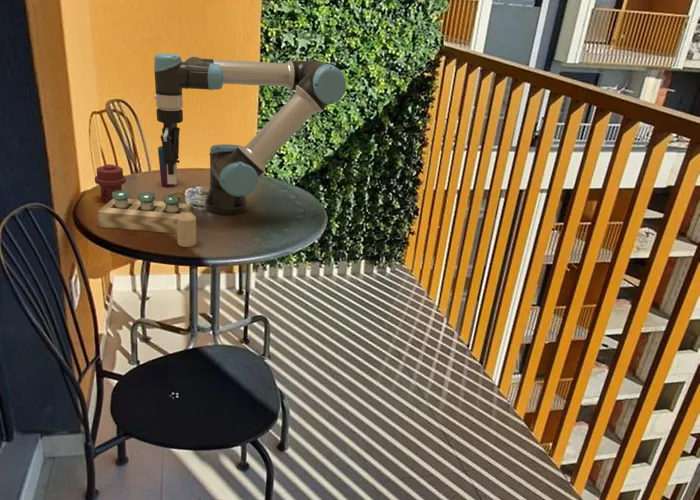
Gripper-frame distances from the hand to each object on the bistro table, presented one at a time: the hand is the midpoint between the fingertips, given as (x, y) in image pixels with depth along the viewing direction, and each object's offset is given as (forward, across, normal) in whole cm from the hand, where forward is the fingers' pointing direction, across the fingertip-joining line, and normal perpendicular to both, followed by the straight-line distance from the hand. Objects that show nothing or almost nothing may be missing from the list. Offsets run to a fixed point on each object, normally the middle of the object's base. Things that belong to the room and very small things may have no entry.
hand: (172, 183), depth 171 cm
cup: (+14, -39, -12) cm, 43 cm away
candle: (+14, +14, +8) cm, 22 cm away
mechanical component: (+14, -18, -26) cm, 35 cm away
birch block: (+14, 0, -8) cm, 16 cm away
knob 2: (+13, 0, 0) cm, 13 cm away
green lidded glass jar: (+13, 0, -8) cm, 15 cm away
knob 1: (+13, 0, -16) cm, 21 cm away
